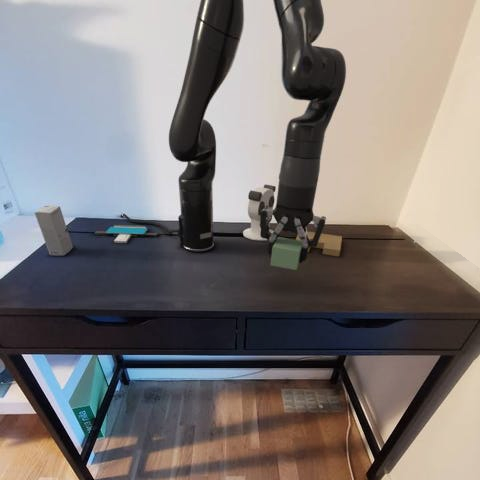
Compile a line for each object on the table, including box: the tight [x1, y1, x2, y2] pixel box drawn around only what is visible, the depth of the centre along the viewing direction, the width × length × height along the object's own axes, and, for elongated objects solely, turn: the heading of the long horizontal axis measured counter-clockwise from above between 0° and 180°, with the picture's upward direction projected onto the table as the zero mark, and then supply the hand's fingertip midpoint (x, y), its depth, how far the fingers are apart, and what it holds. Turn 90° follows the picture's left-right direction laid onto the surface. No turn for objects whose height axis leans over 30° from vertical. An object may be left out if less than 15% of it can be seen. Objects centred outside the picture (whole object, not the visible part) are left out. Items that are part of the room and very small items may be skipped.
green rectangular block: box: [270, 236, 302, 271], centre depth 72 cm, size 6×10×4 cm, turn 162°
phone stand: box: [94, 224, 159, 244], centre depth 100 cm, size 20×12×2 cm, turn 90°
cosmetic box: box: [34, 205, 74, 257], centre depth 86 cm, size 6×4×12 cm
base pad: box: [295, 230, 343, 257], centre depth 100 cm, size 14×12×2 cm
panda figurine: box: [242, 184, 277, 242], centre depth 102 cm, size 12×11×15 cm
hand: (286, 258), depth 71 cm, fingers closed on green rectangular block, 6 cm apart
